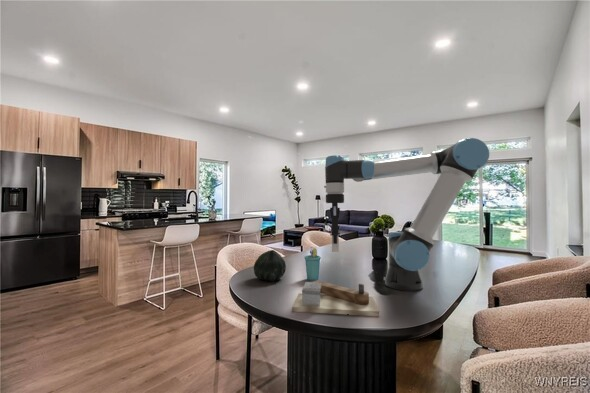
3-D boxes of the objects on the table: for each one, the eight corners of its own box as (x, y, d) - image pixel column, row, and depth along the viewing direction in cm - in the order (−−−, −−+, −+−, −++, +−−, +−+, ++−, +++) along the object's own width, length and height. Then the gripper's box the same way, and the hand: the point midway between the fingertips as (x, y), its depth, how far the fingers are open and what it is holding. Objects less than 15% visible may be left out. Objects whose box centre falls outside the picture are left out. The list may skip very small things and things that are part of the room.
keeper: (321, 296, 103) (321, 282, 103) (319, 306, 93) (319, 291, 93) (305, 295, 104) (305, 282, 104) (302, 305, 94) (302, 290, 94)
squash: (259, 263, 142) (255, 244, 133) (288, 264, 141) (286, 245, 131) (253, 287, 132) (248, 269, 122) (284, 289, 130) (282, 271, 120)
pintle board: (373, 300, 102) (373, 296, 102) (379, 316, 88) (379, 311, 88) (298, 297, 106) (298, 293, 106) (292, 311, 92) (292, 306, 92)
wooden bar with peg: (371, 301, 96) (371, 284, 96) (364, 305, 92) (363, 287, 92) (317, 287, 113) (317, 272, 113) (309, 290, 109) (309, 275, 109)
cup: (319, 284, 123) (319, 250, 123) (302, 283, 124) (302, 250, 125) (321, 276, 137) (321, 245, 137) (306, 275, 138) (305, 245, 138)
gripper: (326, 194, 122) (326, 248, 121) (324, 193, 107) (325, 254, 107) (343, 194, 120) (344, 248, 120) (344, 192, 106) (345, 254, 106)
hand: (335, 251), depth 113 cm, fingers closed
